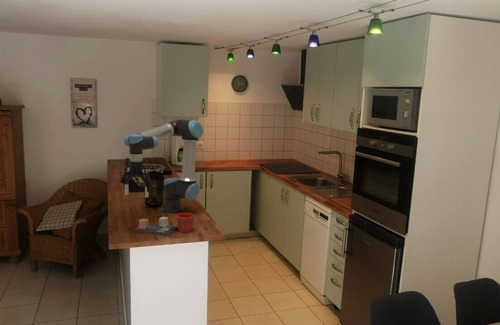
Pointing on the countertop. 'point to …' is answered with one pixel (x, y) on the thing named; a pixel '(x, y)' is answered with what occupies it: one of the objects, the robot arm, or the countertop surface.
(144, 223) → the fader
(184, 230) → the flower pot
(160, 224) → the fader
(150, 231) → the console
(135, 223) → the countertop surface
